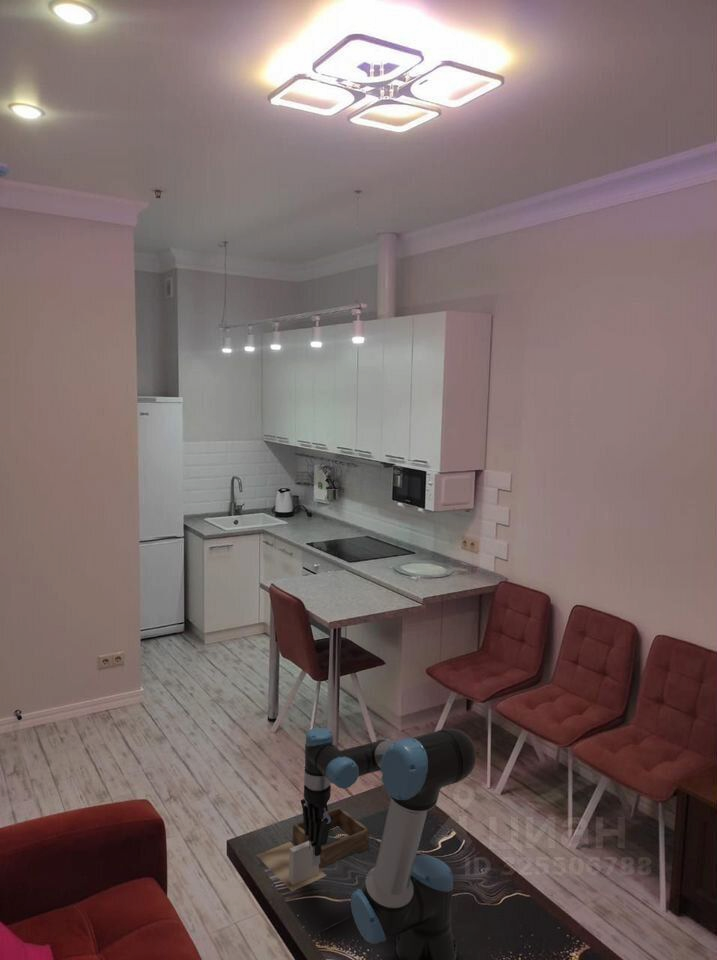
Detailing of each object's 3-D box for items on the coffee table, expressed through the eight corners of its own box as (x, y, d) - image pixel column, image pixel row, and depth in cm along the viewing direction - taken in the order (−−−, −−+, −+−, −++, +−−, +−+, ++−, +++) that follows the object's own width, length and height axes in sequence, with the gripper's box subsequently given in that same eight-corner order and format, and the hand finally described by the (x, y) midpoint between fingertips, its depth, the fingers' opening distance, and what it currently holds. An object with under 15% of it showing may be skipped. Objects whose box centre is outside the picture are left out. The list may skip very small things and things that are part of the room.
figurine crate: (368, 850, 218) (369, 829, 217) (321, 871, 207) (322, 849, 206) (338, 825, 230) (339, 806, 230) (292, 844, 219) (293, 824, 219)
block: (318, 873, 203) (319, 841, 203) (292, 885, 198) (293, 852, 197) (314, 870, 205) (315, 837, 204) (288, 881, 199) (289, 848, 199)
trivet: (326, 877, 203) (326, 875, 203) (291, 893, 195) (291, 891, 195) (289, 843, 218) (289, 841, 218) (256, 857, 211) (256, 855, 211)
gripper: (342, 790, 192) (338, 871, 194) (315, 770, 202) (312, 847, 204) (319, 798, 187) (316, 881, 189) (293, 778, 198) (291, 856, 200)
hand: (314, 863), depth 197 cm, fingers closed
